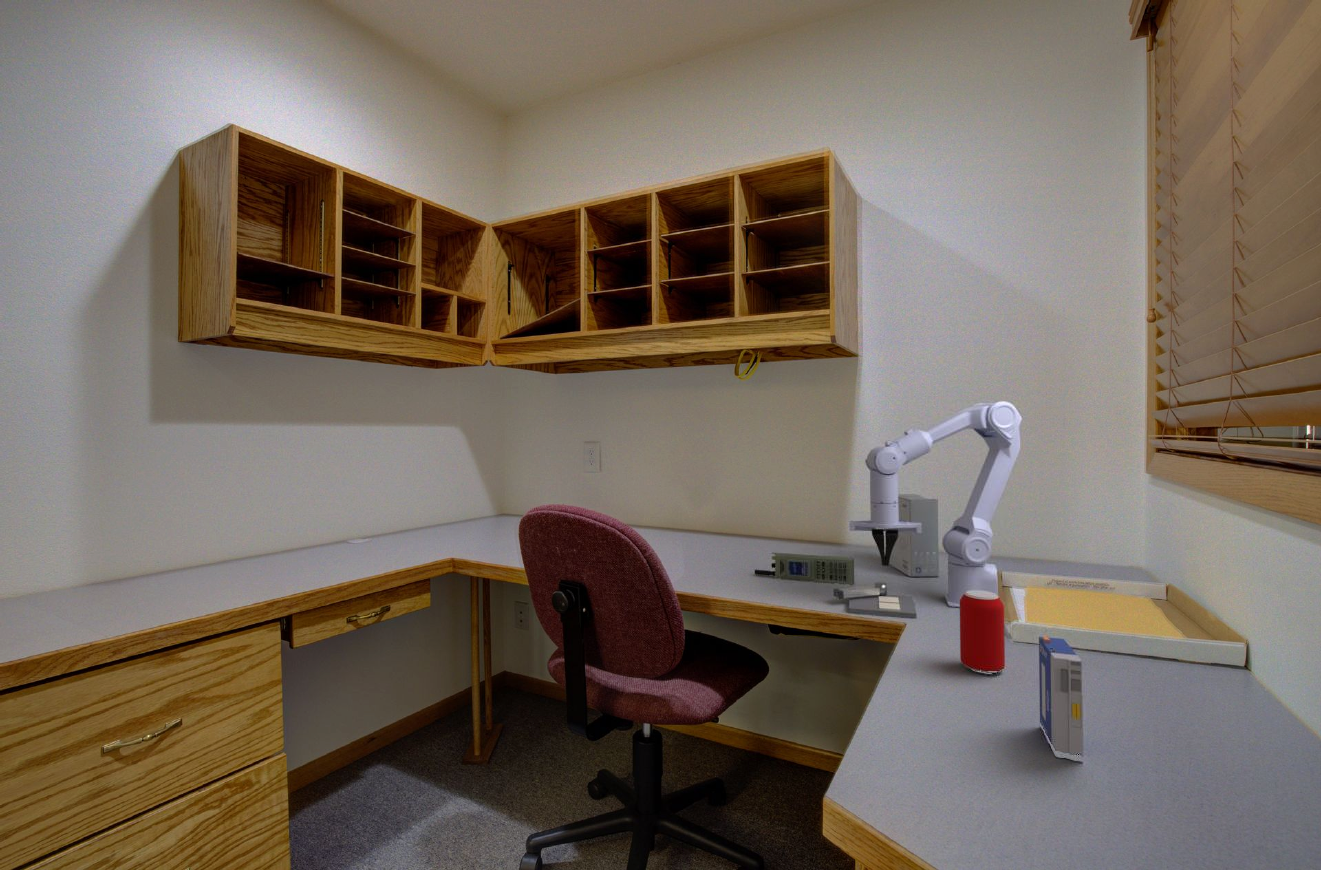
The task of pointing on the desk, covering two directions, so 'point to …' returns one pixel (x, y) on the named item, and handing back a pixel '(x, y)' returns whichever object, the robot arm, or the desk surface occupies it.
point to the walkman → (1061, 695)
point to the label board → (883, 605)
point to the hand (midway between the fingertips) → (885, 564)
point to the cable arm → (861, 591)
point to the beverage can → (982, 631)
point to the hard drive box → (917, 537)
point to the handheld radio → (812, 568)
